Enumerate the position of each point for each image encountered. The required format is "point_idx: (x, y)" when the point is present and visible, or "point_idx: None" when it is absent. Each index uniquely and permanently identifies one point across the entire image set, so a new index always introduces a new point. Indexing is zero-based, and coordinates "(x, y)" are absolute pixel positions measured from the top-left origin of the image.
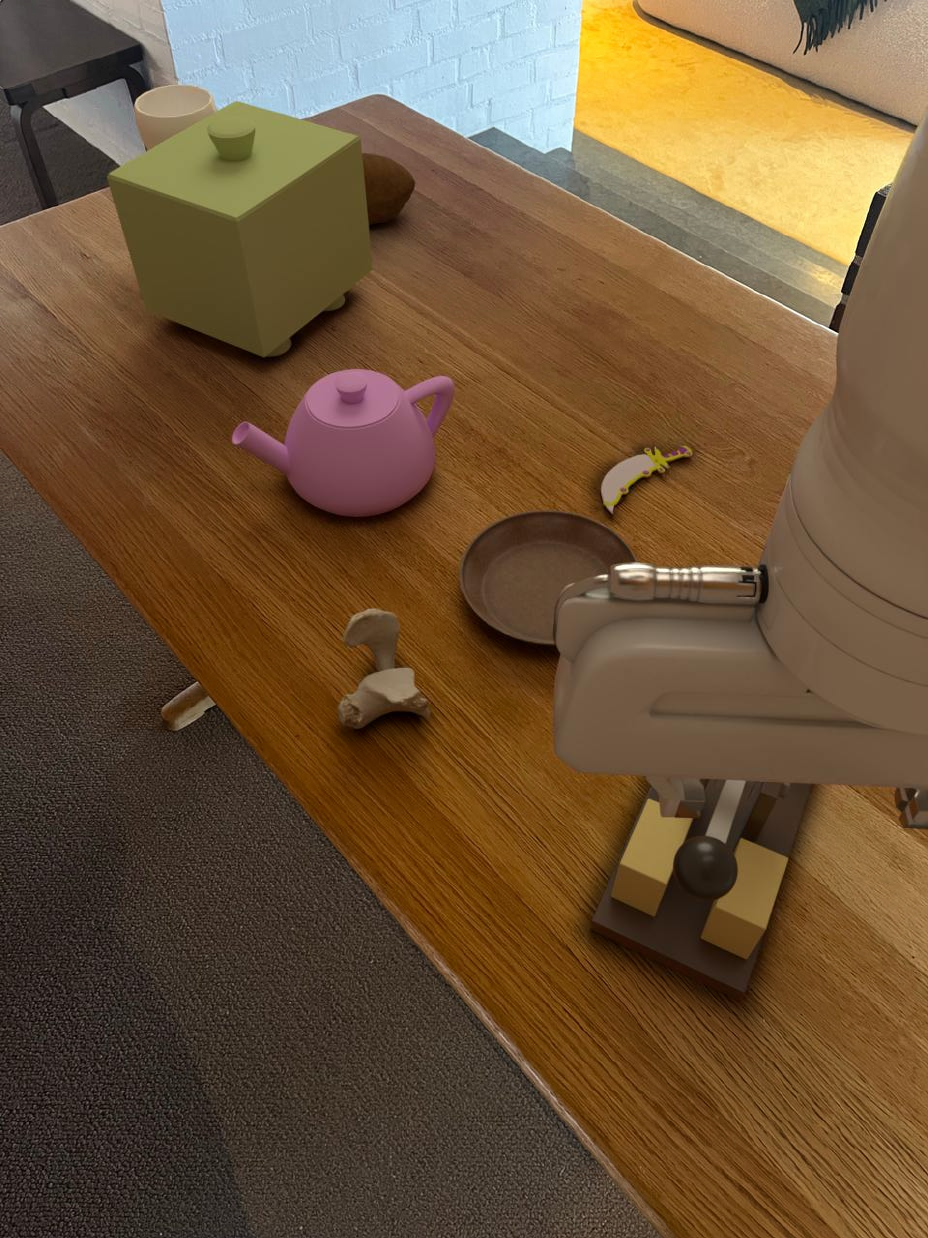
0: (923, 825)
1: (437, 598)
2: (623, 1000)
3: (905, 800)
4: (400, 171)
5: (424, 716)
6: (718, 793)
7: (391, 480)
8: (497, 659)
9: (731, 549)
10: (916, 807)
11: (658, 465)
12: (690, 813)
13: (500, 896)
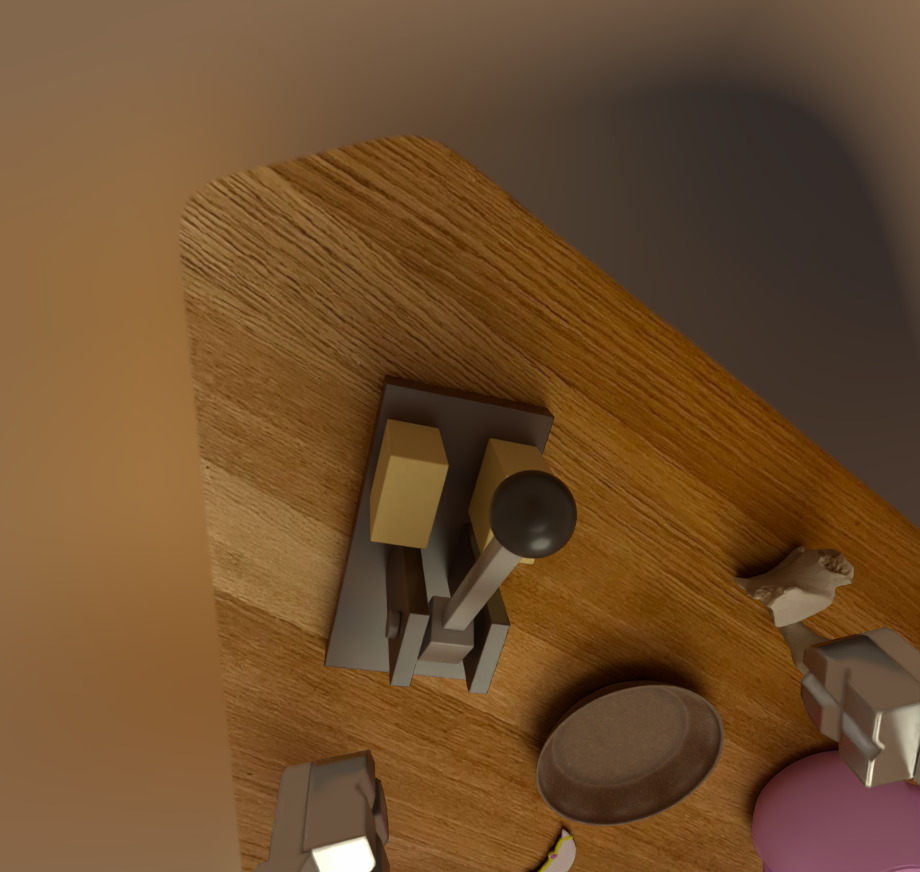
0: (331, 778)
1: (729, 696)
2: (506, 345)
3: (375, 818)
4: None
5: (741, 578)
6: (432, 582)
7: (811, 811)
8: (664, 652)
9: (436, 826)
10: (368, 837)
11: None
12: (854, 659)
13: (641, 418)
